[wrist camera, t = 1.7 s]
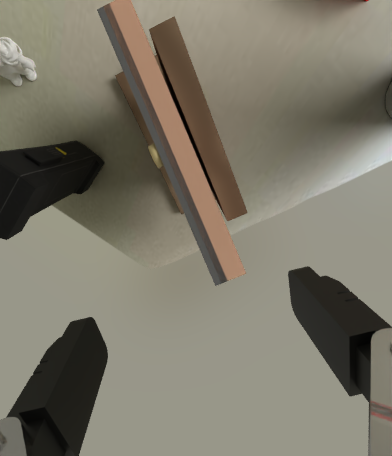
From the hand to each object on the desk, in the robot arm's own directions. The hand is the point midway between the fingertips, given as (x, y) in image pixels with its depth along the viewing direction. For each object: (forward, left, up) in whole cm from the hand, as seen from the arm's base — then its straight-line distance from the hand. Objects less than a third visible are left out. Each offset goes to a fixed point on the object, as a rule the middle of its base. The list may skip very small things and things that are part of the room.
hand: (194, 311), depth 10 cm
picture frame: (-1, -1, -27) cm, 27 cm away
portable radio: (+15, -9, -38) cm, 41 cm away
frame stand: (-2, -6, -37) cm, 38 cm away
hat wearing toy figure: (+16, -24, -38) cm, 47 cm away
